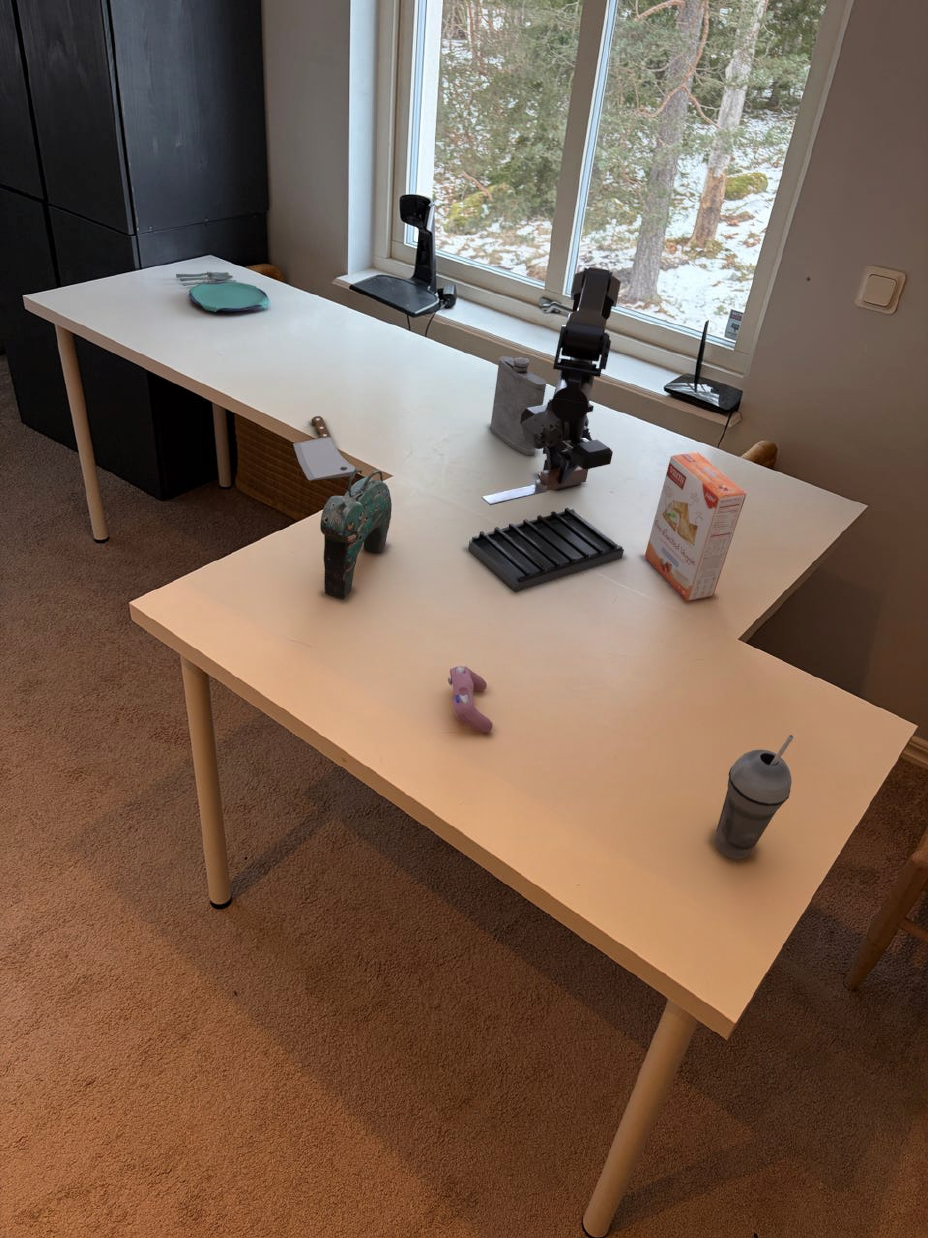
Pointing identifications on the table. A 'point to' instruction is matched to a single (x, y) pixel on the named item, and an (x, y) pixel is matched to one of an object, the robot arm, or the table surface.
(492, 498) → the knife
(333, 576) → the elephant figurine
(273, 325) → the table surface
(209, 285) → the cutlery set
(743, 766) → the beverage cup
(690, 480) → the cracker box
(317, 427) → the kitchen cleaver
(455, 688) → the video game controller
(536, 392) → the flask
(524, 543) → the dish rack
